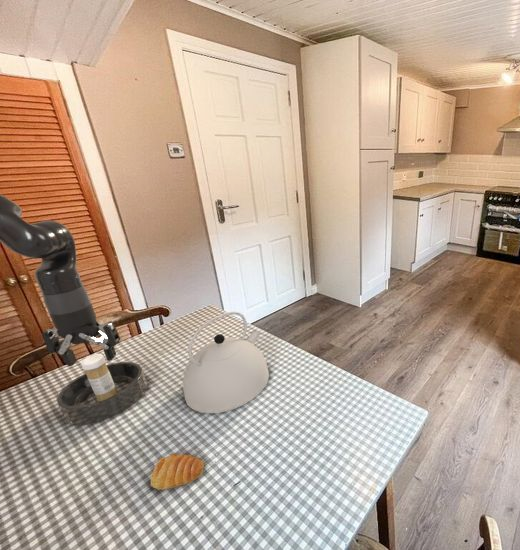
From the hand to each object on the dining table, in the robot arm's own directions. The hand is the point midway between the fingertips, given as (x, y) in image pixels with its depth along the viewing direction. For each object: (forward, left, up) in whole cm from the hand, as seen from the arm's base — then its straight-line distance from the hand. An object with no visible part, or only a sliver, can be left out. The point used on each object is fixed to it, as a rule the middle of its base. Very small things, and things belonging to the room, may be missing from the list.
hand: (92, 361), depth 78 cm
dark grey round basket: (0, 0, -13) cm, 13 cm away
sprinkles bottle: (0, 0, -13) cm, 13 cm away
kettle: (+32, -1, -13) cm, 35 cm away
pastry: (+25, -28, -13) cm, 40 cm away
